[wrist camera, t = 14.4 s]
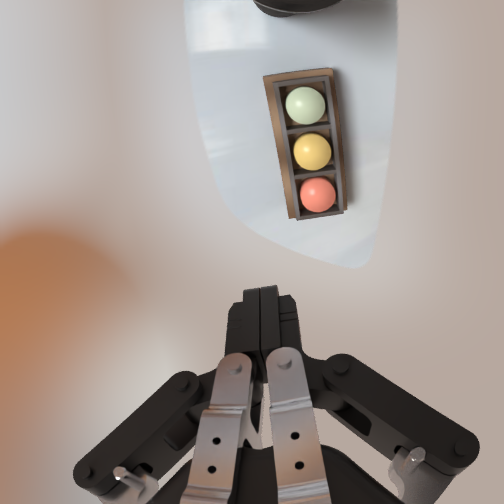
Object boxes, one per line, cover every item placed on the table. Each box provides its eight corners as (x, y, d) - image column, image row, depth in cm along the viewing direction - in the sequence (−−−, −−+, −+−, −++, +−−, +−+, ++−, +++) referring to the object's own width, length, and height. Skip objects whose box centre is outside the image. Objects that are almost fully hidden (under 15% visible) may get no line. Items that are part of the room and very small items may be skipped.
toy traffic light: (262, 76, 28) (262, 78, 25) (327, 67, 27) (336, 69, 24) (287, 210, 36) (290, 226, 33) (343, 201, 35) (350, 217, 32)
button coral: (297, 177, 31) (299, 183, 30) (330, 172, 31) (334, 178, 30) (301, 207, 33) (303, 214, 32) (333, 202, 33) (336, 209, 31)
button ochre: (290, 134, 29) (291, 138, 27) (325, 129, 28) (329, 133, 27) (295, 166, 31) (297, 172, 29) (329, 162, 30) (332, 167, 29)
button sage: (282, 88, 26) (283, 90, 25) (318, 83, 26) (322, 85, 25) (288, 123, 28) (289, 126, 27) (324, 118, 28) (327, 121, 26)
